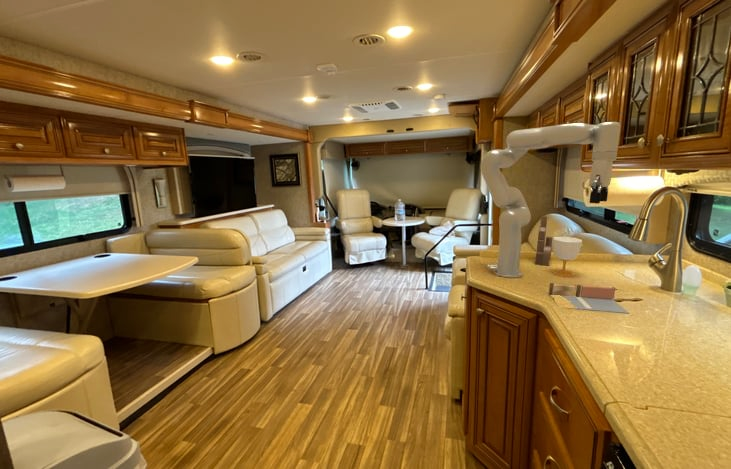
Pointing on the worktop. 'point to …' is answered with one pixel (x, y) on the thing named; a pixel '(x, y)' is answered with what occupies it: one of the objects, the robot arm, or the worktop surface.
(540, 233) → the wooden toy
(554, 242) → the cup
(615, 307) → the card
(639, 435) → the worktop surface
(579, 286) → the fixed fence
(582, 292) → the bar
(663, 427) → the worktop surface
